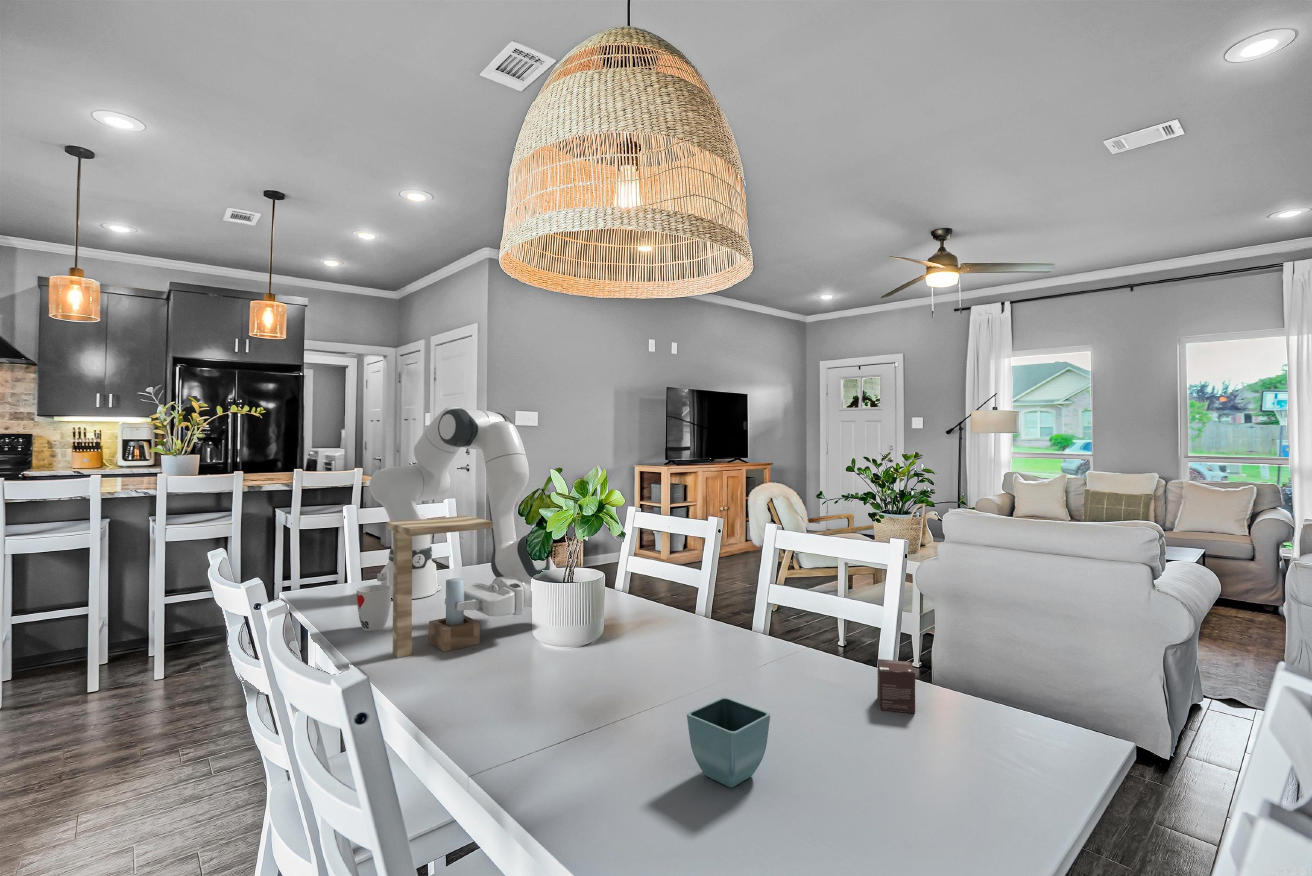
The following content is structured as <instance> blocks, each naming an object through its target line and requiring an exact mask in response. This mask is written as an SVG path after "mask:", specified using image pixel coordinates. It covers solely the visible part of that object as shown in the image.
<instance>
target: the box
mask: <svg viewBox="0 0 1312 876" xmlns="http://www.w3.org/2000/svg"><path fill="white" fill-rule="evenodd" d="M876 691H877V692H876V693H877V694H876V695H877V701H878V705H879V706H880V707H879V710H880V709H881V710H880V711H887V710H889V712H898V713H899V712H900V713H907V712H908V714H916V673H915V669H914V666H913V664H912V661H904V660H892V659H882V658H878V659H877V690H876Z"/></svg>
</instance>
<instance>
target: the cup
mask: <svg viewBox="0 0 1312 876" xmlns="http://www.w3.org/2000/svg"><path fill="white" fill-rule="evenodd" d="M391 592H392V586H389V585H379V584H370V585H369V584H368V585H364V586H360V587H358V588H356V603H357V604H356V606H357V612H358V618H359V619H358V620H359V623H360V624H361V629H362V631H364V632H376V631H377V630H378V631H381V629H382V630H384V629H385V628H386V625H387V622H388V619H389V614H390V608H391V605H392V604H391V603H392V599H391ZM384 627H385V628H384ZM383 628H384V629H383ZM378 631H377V632H378Z"/></svg>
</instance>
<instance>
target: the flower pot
mask: <svg viewBox="0 0 1312 876" xmlns="http://www.w3.org/2000/svg"><path fill="white" fill-rule="evenodd" d="M686 719H687V720H686V721H687V727H688V735H689V741H690V748H691V751H692V755H693V757H694V759H695V761H696V763H697V765H698V766H699V768H700V770H701V772H702V773H703V774H704V775H705V776H706V777H708V778H710V779H712V780H714V781H716V782H717V783H720V784H722V785H724V786H725V787H728V788H734V787H736V786H737V785H739V784H741V783H742V782H743V781H746V780H747V779H749V778H751V777H752V776H754V774H755V772H756V771H757V770H758V768H759V766H760V764H761V763H762V760H763V758H764V755H765V753H766V749H767V745H768V738H769V728H770V721H771V713H770V712H768V711H764V710H762V709H760V708H757V707H753V706H751V705H748V704H745V703H742V702H740V701H737V700H734V699H732V698H730V697H725V696H724V697H720V698H718V699H716V700H714V701H712V702H709V703H707V704H705V705H703V706H700V707H698V708H696V709H694V710H691V711H689V712H687V713H686Z"/></svg>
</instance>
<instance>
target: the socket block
mask: <svg viewBox="0 0 1312 876" xmlns="http://www.w3.org/2000/svg"><path fill="white" fill-rule="evenodd" d="M480 625H481V623H480V621H478V620H475V619H474V618H472V617H470V616H468V615H465V614H464V624H459V625H454V626H449V627H448V626H446V617H444V618H438V619H434V620H429V621H428V643H429V644H431V645H432V646H434V647H436V648H437V649H439V650H441V651H442V652H443V653H445V651H446V652H450V651H454V649H455V650H458V648H459V649H463V648H468V647H471V646H475V645H480V639H481V638H480V637H481V635H480V633H481V632H480V630H481V629H480V628H481V627H480Z"/></svg>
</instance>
